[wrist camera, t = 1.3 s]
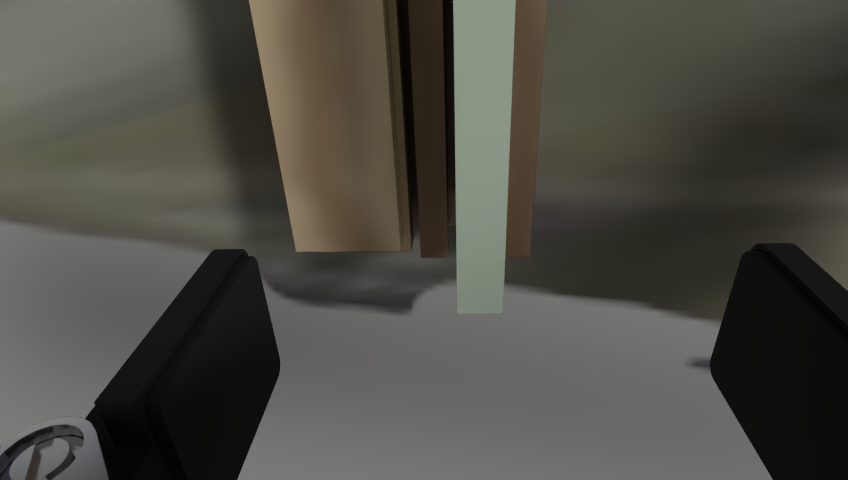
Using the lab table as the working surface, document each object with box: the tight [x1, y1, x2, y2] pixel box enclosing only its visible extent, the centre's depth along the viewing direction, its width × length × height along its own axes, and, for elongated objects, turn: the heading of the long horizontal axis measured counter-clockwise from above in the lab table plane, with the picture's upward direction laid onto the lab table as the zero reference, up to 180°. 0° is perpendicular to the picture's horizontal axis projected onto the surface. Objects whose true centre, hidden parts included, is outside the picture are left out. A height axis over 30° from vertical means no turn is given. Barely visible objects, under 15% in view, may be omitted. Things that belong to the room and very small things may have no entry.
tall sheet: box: [453, 0, 516, 314], centre depth 24 cm, size 2×16×12 cm, turn 3°
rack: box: [249, 0, 547, 258], centre depth 28 cm, size 14×20×7 cm
